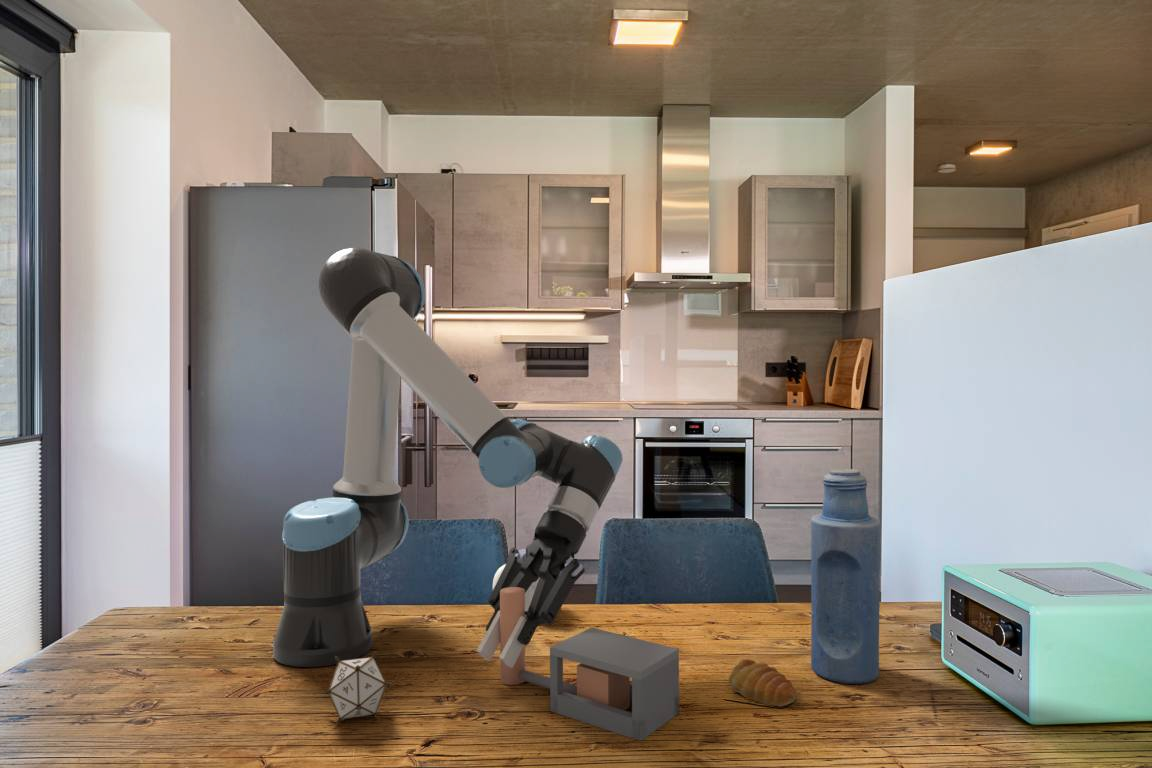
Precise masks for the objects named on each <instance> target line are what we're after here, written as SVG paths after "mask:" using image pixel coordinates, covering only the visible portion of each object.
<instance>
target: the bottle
mask: <svg viewBox="0 0 1152 768" xmlns="http://www.w3.org/2000/svg"><path fill="white" fill-rule="evenodd" d="M822 481H823V491H824V492H823V501H822V510H821V511H822V512H820V513H818V514H815V515H813V516H811V519H810V521H811V523H810V528H811V529H810V531H811V533H810V534H811V535H810V562H811V563H810V566H811V567H810V568H811V569H810V570H811V571H810V578H811V582H810V583H811V586H810V587H811V590H810V591H811V592H810V593H811V597H810V598H811V600H810V601H811V603H810V604H811V609H810V610H811V612H810V614H811V615H810V616H811V620H810V621H811V622H810V623H811V633H810V634H811V635H810V640H811V641H810V642H811V644H810V647H811V648H810V658H811V659H810V667H811V668H810V669H812V671H813V673H815V674H816V675H817V676H819V677H821V678H823V679H825V680H828V681H830V682H835V683H839V684H845V685H851V684H853V685H863V684H868V683H871V682H874V681H875V680H877V678H879V675H880V608H881V604H880V603H881V602H880V596H881V595H880V594H881V592H880V591H881V590H880V586H881V585H880V584H881V581H880V580H881V578H880V576H881V521H880V520H879V519H878V518H876V517H874V516H871V515H870V514H869V504H868V503H869V502H868V500H867V499H868V498H867V487H868V481H867V478H866V476H864V475H862V474H861V472H860V470H859V469H854V468H852V469H850V468H836V469H830V470H829V473H828V474H825V475H824V477H823V480H822Z"/></svg>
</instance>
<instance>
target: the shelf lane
mask: <svg viewBox="0 0 1152 768" xmlns="http://www.w3.org/2000/svg"><path fill="white" fill-rule="evenodd" d="M563 660H567V661H571V662H574V663H575V662H576V663H578V664H585V665H589V666H592V667H596V668H599V669H603V670H606V671H610V672H613V673H617V674H621V675H624V676H628V677H630V679H631V680H630V704H631V703H632V704H631V712H629V711H627V710H621V709H618V708H615V707H611V706H608V705H605V704H602V703H599V702H595V701H592V700H589V699H586V698H583V697H579V696H576V695H573V694H570V693H567V692H563V682H564V661H563ZM549 677H550V690H549V699H550V700H549V702H550V705H549V707H550V709H549V710H550V712H553V713H555V714H558V715H561V716H565V717H568V718H570V719H574V720H577V721H579V722H582V723H585V724H588V725H592V726H594V727H597V728H599V729H603V730H607V731H609V732H612V733H616V734H617V735H621V736H623V737H624V736H625V737H627V738H630V739H633V740H635V741H639V742H641V741H643V740H644V739H646V738H647V737H648V736H650V735H651V734H653V733H654V732H655V731H656V730H658V729H660V728H661V727H662V726H664V725H665V724H666V723H668V722H669V721H671V720H672V719H673V718H674V717H676V716H678V715H679V714H680V648H677V647H673V646H669V645H665V644H661V643H656V642H653V641H648V640H644V639H640V638H637V637H632V636H627V635H624V634H619V633H616V632H611V631H608V630H607V631H606V630H603V629H599V628H596V627H595V628H594V627H590V628H588V629H585V630H584V631H581V632H579V633H577V634H575V635H573V636H570V637H569V638H567V639H564V640H562V641H560V642H558V643H556V644H553V645H551V646H550V647H549Z"/></svg>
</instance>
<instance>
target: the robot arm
mask: <svg viewBox="0 0 1152 768" xmlns="http://www.w3.org/2000/svg"><path fill="white" fill-rule="evenodd" d="M318 276H319V277H318V290H319V296H320V297H321V300H322V302H323V304H324V306H325V308H326V309H327V310H328V312H329V313H330V314H331V315H332V316H333V317H334V319H335V320H337V322H338V323H339V324H340V326H342V327H343V331H344V332H345V333H346V334H347V335H348V336H349V338H350V339H351V341H352V343H351V355H350V356H351V357H350V370H349V371H350V372H349V382H348V383H349V386H348V398H347V399H348V400H347V414H346V416H347V417H346V426H345V427H346V431H345V443H344V456H343V457H344V458H343V470H342V471H343V474H342V477H341V478H340V479H339V480H338V481H336V483H334V485H333V486H332V497H322V498H318V499H316V500H315V499H314V500H307V501H305V502H304V501H303V502H302V503H299V504H297V505H295V506H293V507H291V508H290V509H289V510H288V511H287V512H286V514H285V515H284V518H283V525H282V529H283V530H282V535H281V541H282V549H283V550H282V551H283V553H282V554H283V555H282V556H283V592H284V594H283V598H284V599H283V600H284V601H283V602H284V603H283V604H284V605H283V609H282V612H281V616H280V619H279V621H278V625H277V628H276V632H275V635H274V637H273V641H272V654H273V655H272V656H273V660H275V661H276V662H277V663H279V664H283V665H286V666H290V667H296V668H297V667H298V668H317V667H328V666H333V665H337V663H338V662H337V661H336V660H335V656H337V657H339V658H340V661H341V660H349V659H358V658H361V657H362V656H364V655H365V654H367V653H368V652H369V651H370V650H371V649H372V647H373V630H372V627H371V624H370V621H369V618H368V616H367V613H366V611H365V606H364V605H363V602H362V598H361V595H362V594H361V569H364V568H366V567H367V566H369V565H371V564H373V563H375V562H379V561H381V560H383V559H386V558H387V557H388V556H390V555H391V554H392V553H393V552H394V551H396V550H397V549H398V548H399V547H401V545H402V543H403V542H404V540H405V538H406V536H407V534H408V530H409V525H410V523H409V521H410V519H409V514H408V510H407V507H406V506H405V505H404V504H403V501H402V500H401V497H402V496H401V495H402V487H401V486H400V485H399V484H398V483H397V481H396V480H395V479H394V474H395V473H394V472H395V461H396V445H397V432H398V418H399V417H398V416H399V403H400V402H399V401H400V389H401V380H402V381H403V382H405V384H406V385H407V386H408V387H409V388H410V389H411V390H412V391H413V392H414V393H415V394H416V395H417V396H418V398H420V399H421V401H423V402H424V404H426V406H427V407H428V408H429V409H430V410H431V411H432V413H434V414H435V415H436V416H437V418H438V419H439V420H441V422H442V423H444V424H445V426H446V427H447V428H448V429H449V430H450V431H451V432H452V433H453V434H454V435H455V436H456V438H458V439H459V441H460V442H462V444H463V445H464V446H465V447H466V448H468V450H469V451H470V452H471V453H472V454H473V455H474V457H476V459H478V466H479V471H480V473H481V475H482V477H483V478H484V480H485V481H486V482H487V483H489V484H490V485H492V486H493V487H496V488H500V489H501V488H503V489H508V488H512V487H518V486H521V485H522V484H524V483H527V482H528V481H529V480H530V479H533V478H535V477H536V476H538V477H540V478H543V479H545V480H548V481H549V482H551V483H553V484H556V485H558V486H557V488H556V491H555V493H554V494H553V496H552V498H551V500H550V501H549V503H548V504H547V507H546V509H545V512H544V513H543V514H542V516H541V518H540V520H538V523H537V525H536V527H535V529H534V535H533V539H532V540H531V542H529V543H528V545H526V548H521V549H517V548H516V547H511V548H510V549H509V553H508V559H507V561H506V563H505V564H506V565H505V564H504V565H505V567H504V569H503V571H502V573H501V575H500V577H499V579H498V581H497V583H496V585H495V587H494V589H493V588H492V592H491V593H490V596H489V597H488V600H487V603H488V604H489V605H490V606H491V607H492V608H493V609H494V611H493V614H492V615H491V617H490V619H489V621H488V623H487V625H486V627H485V635H484V637H483V638H482V640H481V642H480V644H479V646H478V648H477V650H476V651H477V653H478V654H479V655H480V656H481V657H482V658H484V660H486V661H487V662H491V660H492V658H493V656H494V655H495V652H496V651H497V648H498V647H499V646H500V590H501V589H503V588H508V587H519V588H523V589H525V593H526V591H527V590H528V588H529V587H530V586H531V584H532V583H533V582H536V581H537V580H538V578H539V580H538V583H537V586H536V589H535V592H534V595H533V598H532V601H531V604H530V606H529V609H528V611H526V612H525V611H524V614H525V615H526V616H527V617H523V616H521V617H520V618H519V620H518V622H517V624H516V626H515V628H514V630H513V632H512V634H511V636H510V638H509V640H508V641H507V643H506V645H505V647H504V649H503V651H502V653H501V655H500V654H499V656H498V658H499V659H501V660H502V661H503V662H504V663H505V664H506V665H507V666H508V667H511V668H513V666H514V664H515V662H516V660H517V658H518V656H519V654H520V652H521V650H522V648H523V646H524V645H525V646H528V644H530V642H531V641H532V639H533V636H534V635H535V632H536V630H537V628H538V627H540V626H541V625H544V624H546V625H548V626H549V625H552V624H553V623H554V621H555V619H556V618H557V615H558V614H559V612H560V610H561V608H562V606H563V604H564V602H565V601H566V599H567V598H568V595H570V592H571V590H572V589H573V587H574V584H575V583H576V581H577V580H578V579H580V577H582V575H584V573H585V571H586V569H585V568H584V566H583V564H581V562H580V561H579V560H578V559H577V558H575V555H577V554H578V553H579V552H580V550H581V547H582V545H583V543H584V541H585V539H586V537H587V533H588V532H589V530H590V529H591V527H592V525H593V523H594V521H595V519H596V516H597V514H598V513H599V511H600V509H601V506H602V505H603V503H604V502H605V499H606V497H607V495H608V493H609V492H610V490H611V487H612V485H613V484H614V482H615V481H616V478H617V475H618V472H619V470H620V468H621V466H622V463H623V453H622V450H621V449H620V447H618V446H617V444H616V443H615V442H613V441H612V440H610V439H609V438H607V437H605V436H602V435H598V436H597V435H596V434H590V435H589V436H586V437H585V438H584V439H583V441H581V442H577V441H573V440H571V439H568V438H566V437H564V436H561V435H559V434H557V433H555V432H552V431H551V430H548V429H545V428H544V427H542V426H539V425H537V423H534V422H530V421H527V420H524V419H521V418H515V419H513V420H510V419H509V418H508V416H507V415H506V414H505V413H504V412H503V411H502V409H500V408H499V407H498V406H497V405H496V404H495V403H494V402H493V401H492V400H491V398H490V397H489V396H488V395H487V394H486V393H485V392H484V391H482V389H481V388H480V387H479V386H478V385H477V384H476V383H475V382H474V381H473V380H472V379H471V378H470V377H469V376H468V374H466V373H465V372H464V370H462V368H461V367H460V366H459V365H458V364H457V363H456V362H455V361H454V360H453V359H452V358H451V357H450V356H449V355H448V354H447V353H446V352H445V351H444V350H443V349H442V348H441V347H440V346H439V345H438V344H437V343H436V341H434V339H433V338H431V337H430V336H429V334H428V333H427V332H426V331H424V329H423V328H422V327H421V326H420V325H419V324H418V323H417V322H416V321H415V319H416V317H418V315H419V314H420V313H421V311H422V310H423V308H424V305H425V301H426V287H425V284H424V283H425V282H424V280H423V277H422V276H421V274H420V273H419V272H418V270H416V267H414V266H413V265H411V264H410V263H408V262H407V261H405V260H403V259H401V258H400V257H397V256H396V255H395V256H394V255H389V254H385V253H382V252H381V253H380V252H376V251H373V250H370V249H366V248H361V247H349V248H344V249H342V250H339V251H337V252H335V253H334V254H332V255H330V257H329V258H328V259H327V260H326V261H325V263H324V264H323V266H322V268H321V270H320V272H319V275H318ZM548 612H549V613H548Z"/></svg>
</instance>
